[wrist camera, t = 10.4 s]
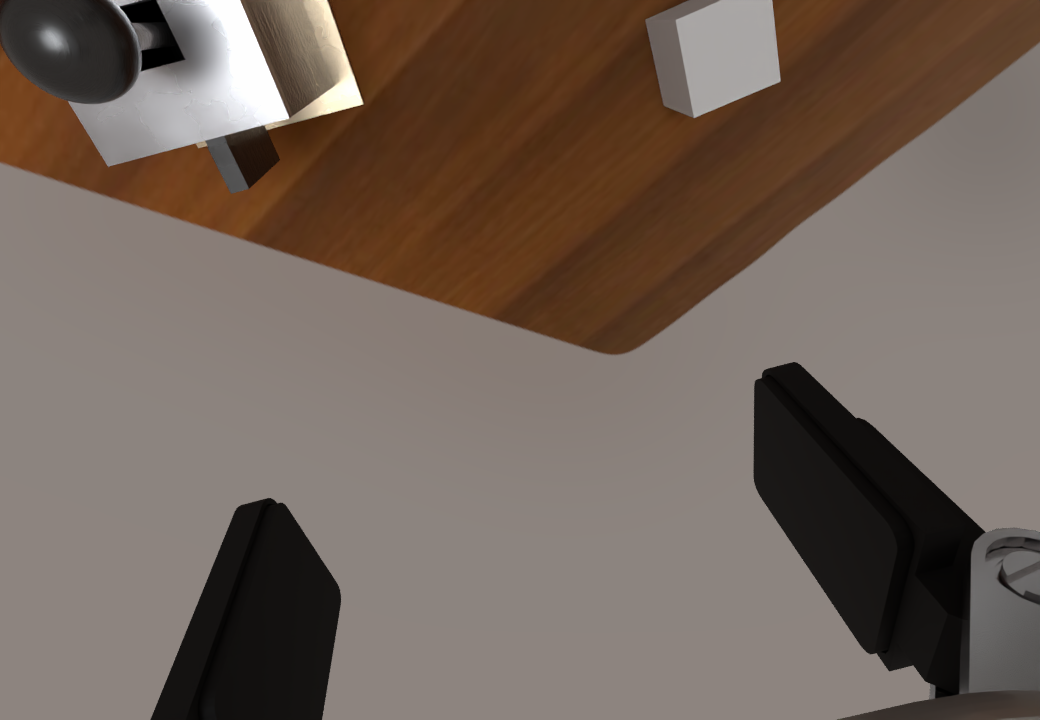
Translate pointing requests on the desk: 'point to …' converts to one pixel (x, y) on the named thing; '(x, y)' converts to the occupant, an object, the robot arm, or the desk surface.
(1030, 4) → the desk surface
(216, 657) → the robot arm
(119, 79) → the ball knob lever
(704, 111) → the white cube
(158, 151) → the grey slotted box
